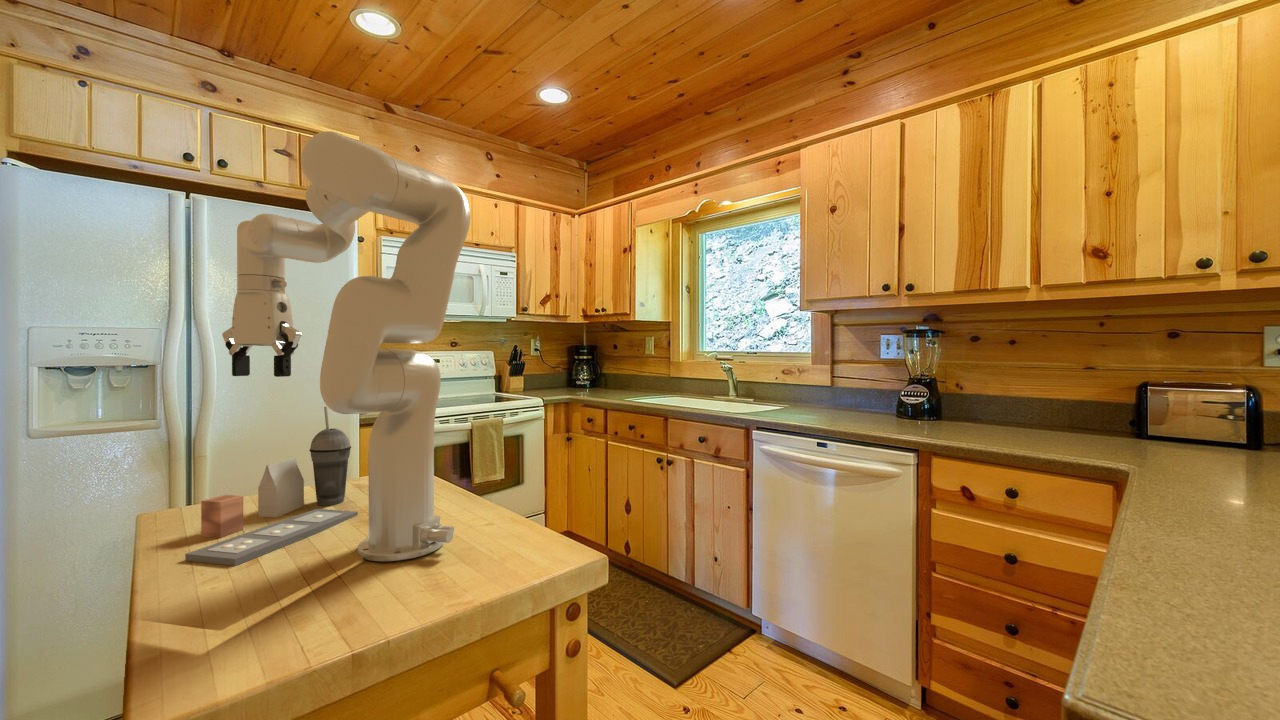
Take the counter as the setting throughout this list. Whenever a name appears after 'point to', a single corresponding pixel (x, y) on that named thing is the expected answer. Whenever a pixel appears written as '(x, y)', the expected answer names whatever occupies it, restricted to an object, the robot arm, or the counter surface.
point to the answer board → (269, 537)
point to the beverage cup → (330, 464)
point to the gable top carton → (280, 489)
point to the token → (221, 516)
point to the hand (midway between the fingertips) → (261, 376)
